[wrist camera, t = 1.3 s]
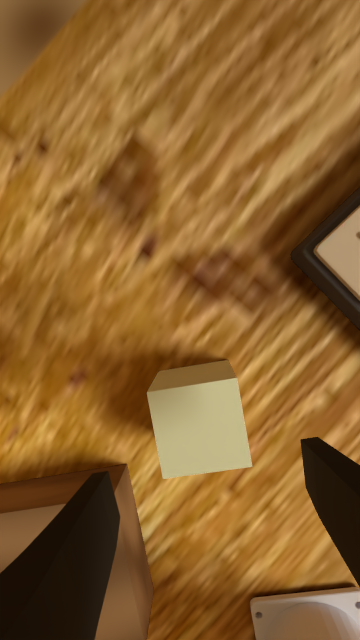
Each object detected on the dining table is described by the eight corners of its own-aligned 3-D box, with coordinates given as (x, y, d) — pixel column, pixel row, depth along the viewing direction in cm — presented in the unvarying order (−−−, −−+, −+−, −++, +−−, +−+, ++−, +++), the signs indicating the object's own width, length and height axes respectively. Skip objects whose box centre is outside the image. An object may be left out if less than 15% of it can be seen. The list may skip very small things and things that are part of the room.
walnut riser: (154, 585, 23) (145, 646, 19) (31, 601, 23) (-3, 663, 19) (128, 461, 22) (112, 496, 18) (3, 481, 23) (-38, 519, 19)
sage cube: (239, 427, 21) (252, 466, 16) (171, 437, 22) (163, 478, 17) (227, 359, 21) (236, 377, 16) (158, 370, 21) (146, 392, 16)
